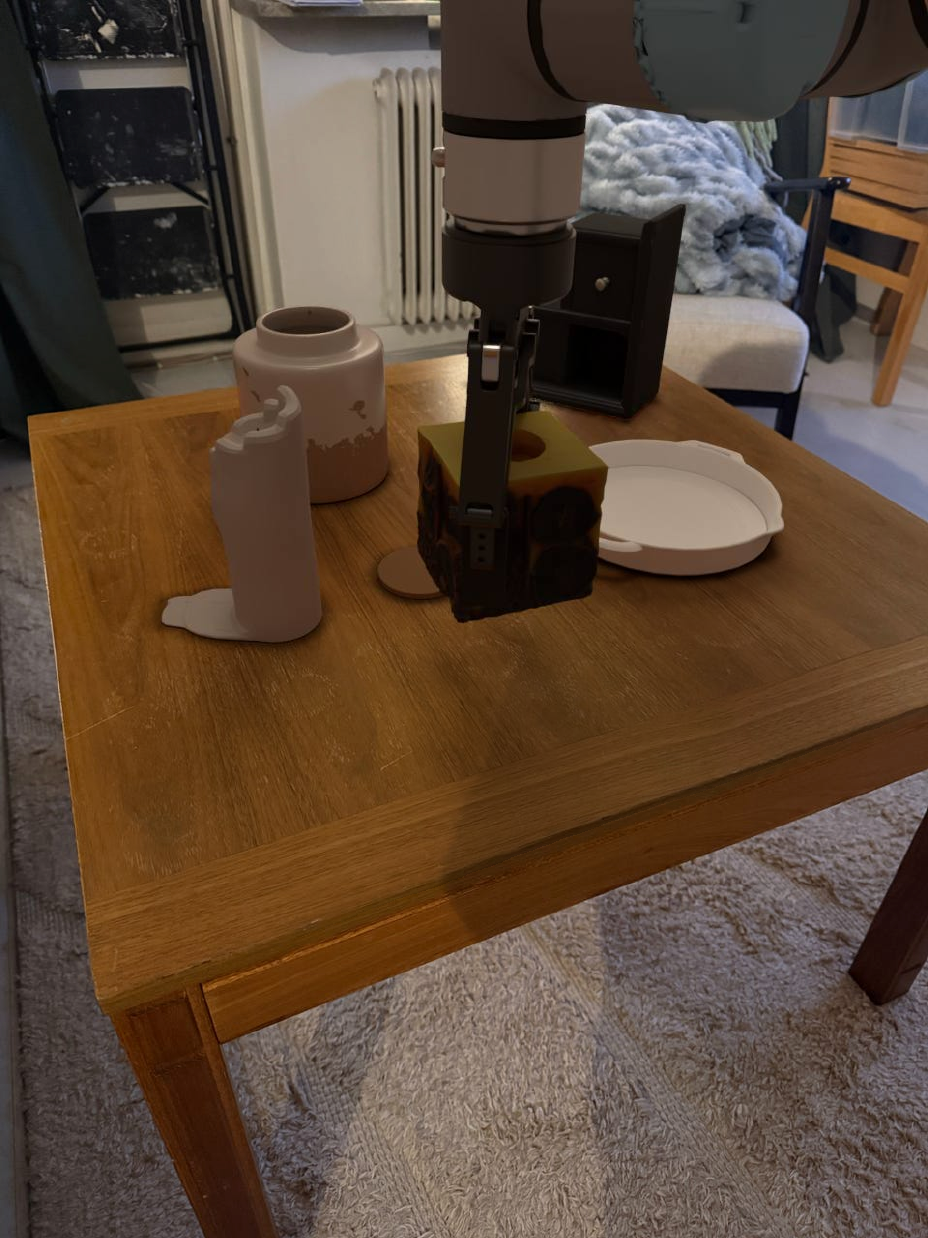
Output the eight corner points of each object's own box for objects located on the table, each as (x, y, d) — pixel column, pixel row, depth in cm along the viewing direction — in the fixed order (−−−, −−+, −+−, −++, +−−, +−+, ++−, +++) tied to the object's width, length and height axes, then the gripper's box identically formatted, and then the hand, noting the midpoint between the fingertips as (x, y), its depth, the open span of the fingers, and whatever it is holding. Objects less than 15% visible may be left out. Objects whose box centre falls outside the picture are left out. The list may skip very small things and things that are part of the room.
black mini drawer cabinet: (467, 385, 116) (472, 194, 102) (504, 360, 124) (513, 180, 110) (630, 424, 107) (660, 221, 93) (659, 395, 115) (691, 203, 101)
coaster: (470, 555, 83) (470, 550, 82) (456, 603, 76) (456, 598, 76) (388, 547, 83) (388, 541, 83) (368, 594, 77) (368, 588, 77)
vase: (224, 465, 96) (199, 314, 86) (339, 430, 104) (329, 287, 94) (295, 520, 87) (277, 358, 77) (416, 476, 95) (413, 324, 85)
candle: (457, 628, 56) (458, 491, 50) (412, 551, 64) (409, 424, 58) (597, 599, 59) (614, 467, 53) (538, 528, 67) (547, 406, 61)
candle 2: (175, 586, 77) (128, 370, 65) (329, 595, 77) (309, 378, 65) (147, 636, 72) (90, 408, 60) (312, 645, 71) (288, 417, 59)
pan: (819, 507, 91) (829, 473, 89) (714, 629, 74) (724, 591, 72) (616, 443, 103) (620, 411, 101) (484, 535, 85) (485, 500, 83)
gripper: (474, 175, 58) (469, 464, 70) (393, 274, 38) (406, 651, 51) (586, 180, 57) (560, 471, 70) (563, 284, 37) (533, 665, 50)
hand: (495, 548), depth 60 cm, fingers closed on candle, 13 cm apart
